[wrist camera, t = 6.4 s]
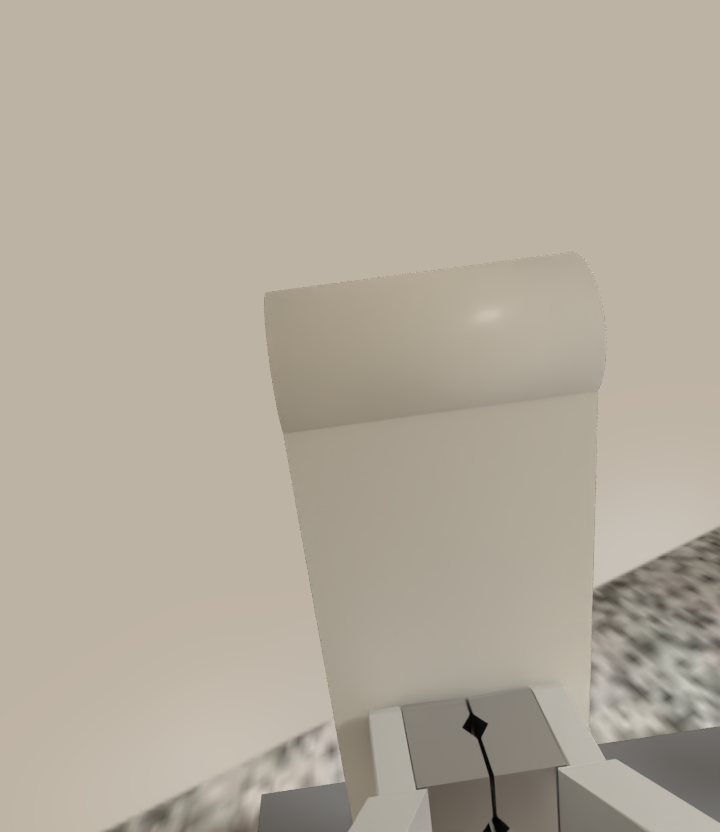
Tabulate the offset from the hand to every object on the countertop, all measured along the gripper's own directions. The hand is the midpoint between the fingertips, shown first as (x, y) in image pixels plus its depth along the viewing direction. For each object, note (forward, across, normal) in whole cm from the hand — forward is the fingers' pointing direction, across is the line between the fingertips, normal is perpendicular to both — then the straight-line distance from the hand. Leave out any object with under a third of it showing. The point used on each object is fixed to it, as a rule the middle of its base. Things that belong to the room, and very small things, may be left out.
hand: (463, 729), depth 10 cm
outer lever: (+2, 0, +7) cm, 7 cm away
